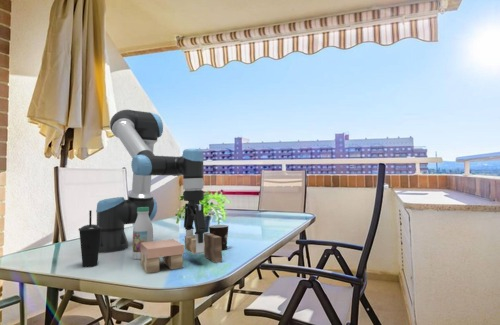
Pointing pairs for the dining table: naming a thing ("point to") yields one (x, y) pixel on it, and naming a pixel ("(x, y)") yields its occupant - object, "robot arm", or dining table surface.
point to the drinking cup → (90, 243)
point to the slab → (161, 248)
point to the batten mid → (174, 261)
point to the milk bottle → (141, 230)
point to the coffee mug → (220, 233)
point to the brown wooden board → (213, 247)
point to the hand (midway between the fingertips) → (194, 249)
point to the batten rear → (149, 264)
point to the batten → (192, 244)
